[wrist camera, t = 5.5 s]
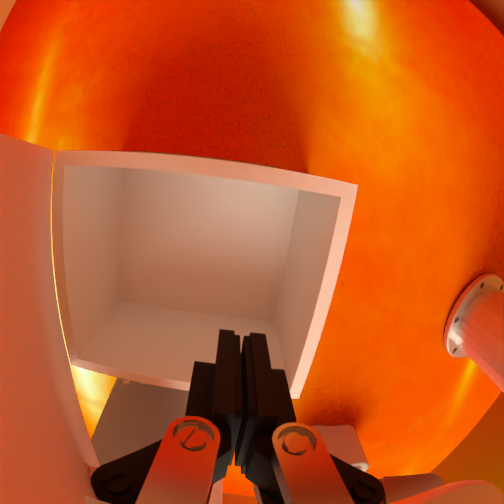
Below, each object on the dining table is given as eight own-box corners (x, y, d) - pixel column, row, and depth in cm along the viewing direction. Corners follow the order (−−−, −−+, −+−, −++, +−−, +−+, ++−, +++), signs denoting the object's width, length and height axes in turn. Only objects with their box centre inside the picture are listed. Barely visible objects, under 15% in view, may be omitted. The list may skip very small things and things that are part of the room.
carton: (308, 175, 23) (358, 183, 13) (278, 324, 27) (298, 398, 17) (121, 152, 21) (55, 148, 12) (116, 302, 25) (71, 364, 16)
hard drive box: (131, 340, 27) (59, 509, 8) (202, 338, 27) (178, 538, 8) (168, 431, 31) (149, 559, 12) (225, 430, 32) (226, 567, 13)
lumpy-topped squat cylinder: (362, 423, 33) (382, 467, 25) (326, 467, 37) (337, 506, 29) (297, 424, 32) (310, 476, 24) (268, 468, 35) (274, 511, 27)
